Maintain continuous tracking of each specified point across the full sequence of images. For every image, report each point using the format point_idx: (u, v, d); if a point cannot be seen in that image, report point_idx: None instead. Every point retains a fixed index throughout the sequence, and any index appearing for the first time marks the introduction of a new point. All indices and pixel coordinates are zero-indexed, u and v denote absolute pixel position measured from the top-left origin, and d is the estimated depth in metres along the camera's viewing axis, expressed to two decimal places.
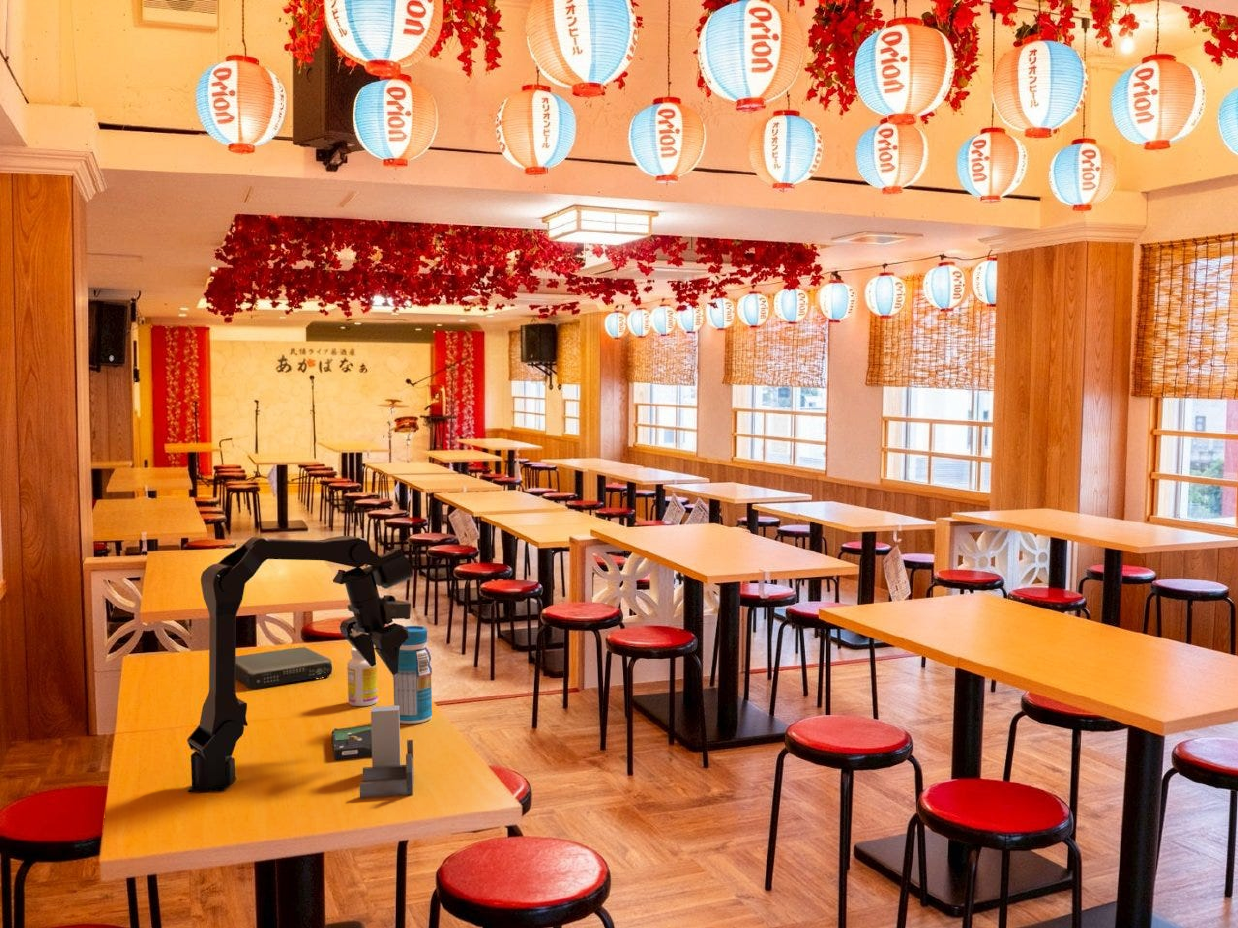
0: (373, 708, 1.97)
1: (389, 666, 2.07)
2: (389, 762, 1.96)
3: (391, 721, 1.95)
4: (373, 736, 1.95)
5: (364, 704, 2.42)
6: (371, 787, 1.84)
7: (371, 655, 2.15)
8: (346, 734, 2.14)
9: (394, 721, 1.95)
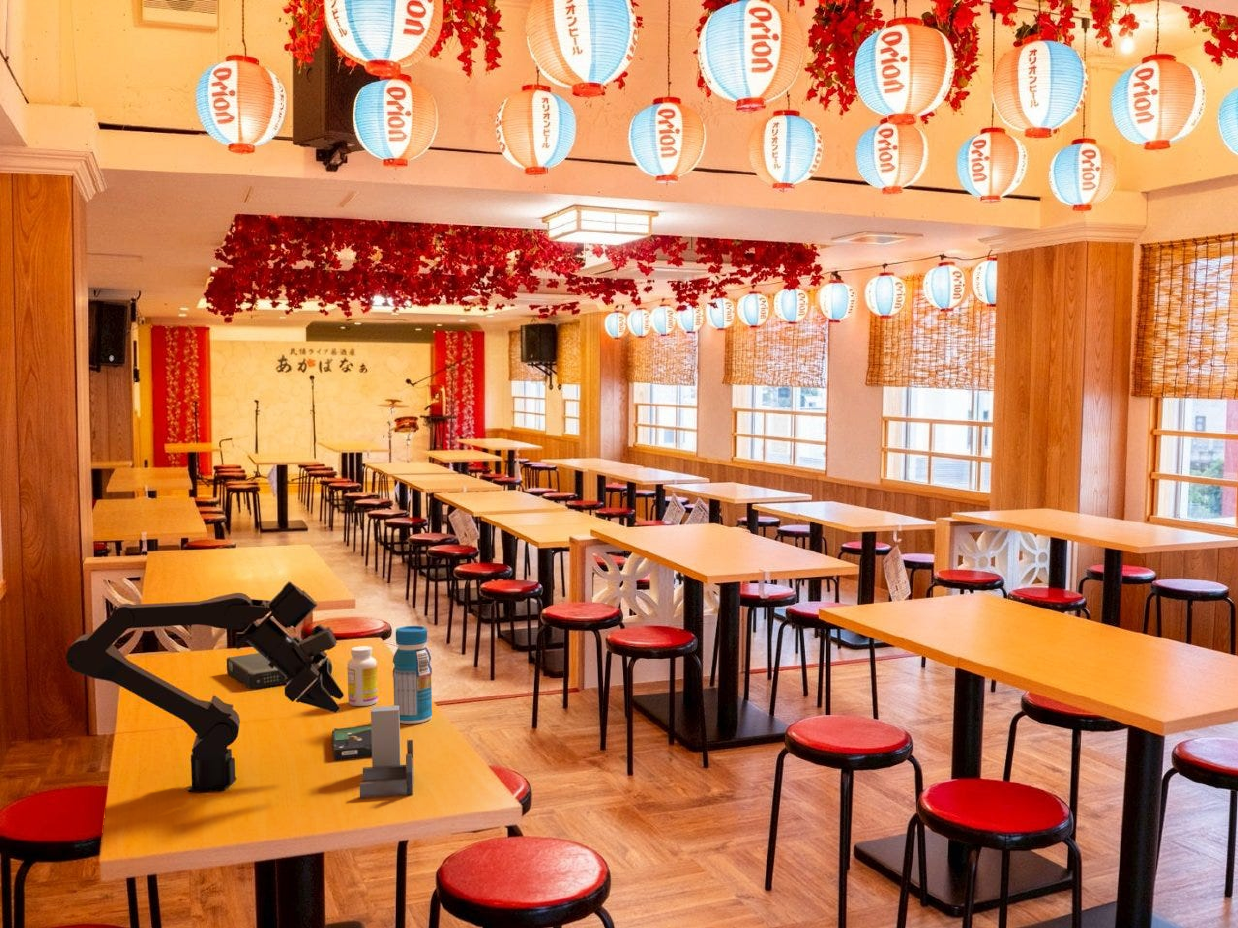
0: (373, 708, 1.97)
1: (324, 707, 1.90)
2: (389, 762, 1.96)
3: (391, 721, 1.95)
4: (373, 736, 1.95)
5: (364, 704, 2.42)
6: (371, 787, 1.84)
7: (333, 688, 1.99)
8: (346, 734, 2.14)
9: (394, 721, 1.95)
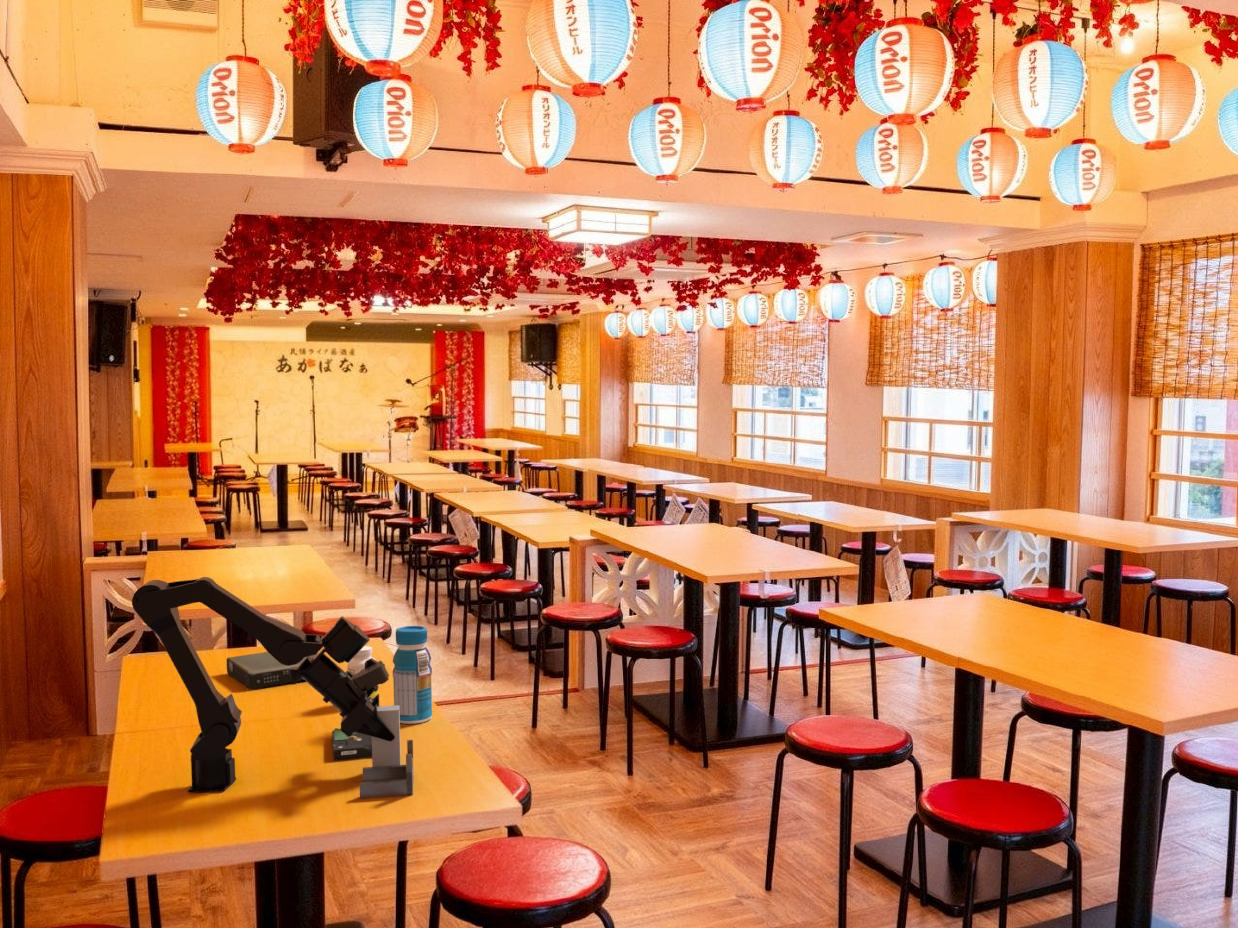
0: None
1: (379, 737, 1.94)
2: (389, 762, 1.96)
3: (391, 721, 1.95)
4: None
5: None
6: (371, 787, 1.84)
7: None
8: None
9: (394, 721, 1.95)
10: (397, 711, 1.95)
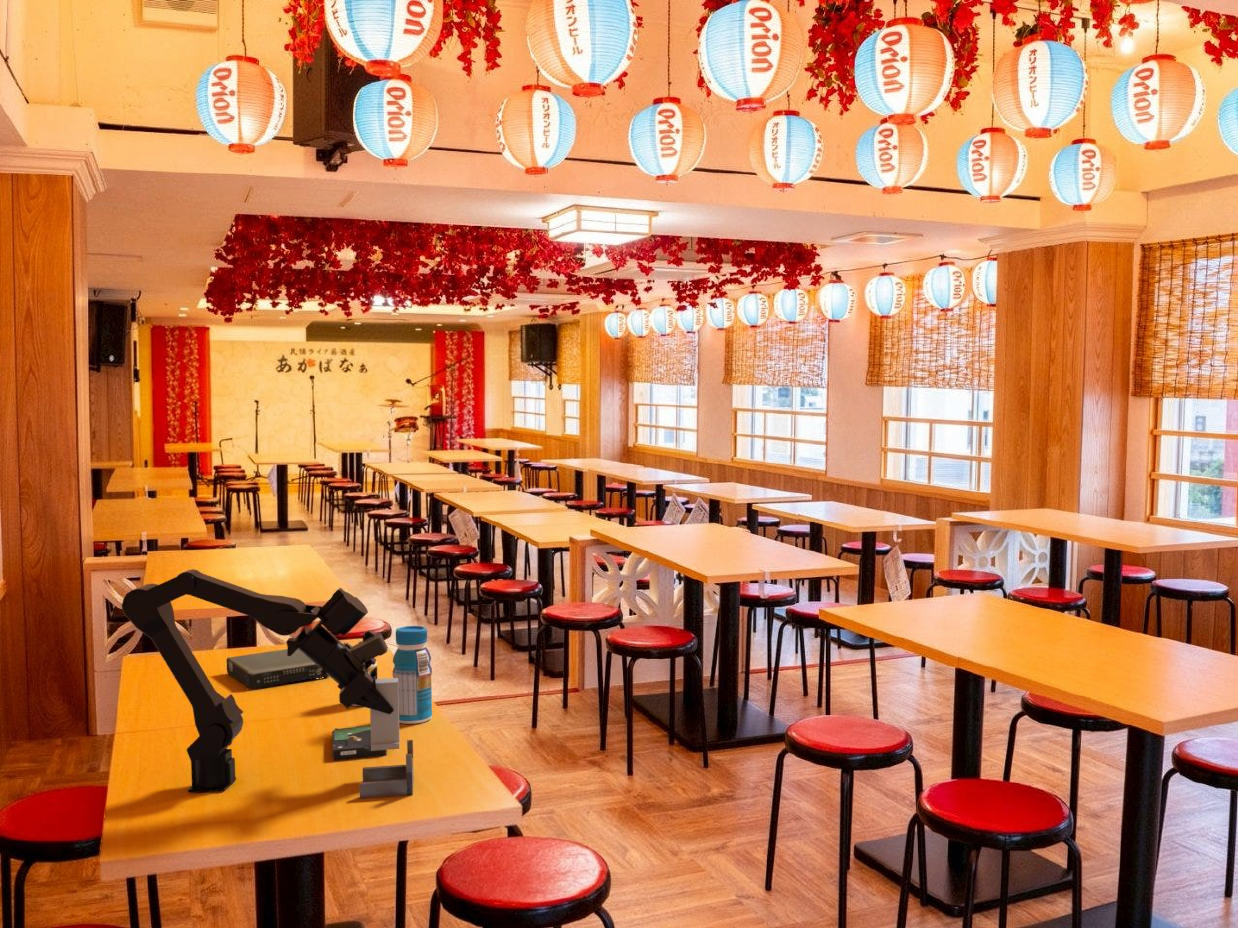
0: None
1: (378, 709, 1.91)
2: (388, 735, 1.92)
3: (390, 693, 1.92)
4: None
5: None
6: (371, 787, 1.84)
7: None
8: (345, 734, 2.14)
9: (393, 693, 1.92)
10: (396, 683, 1.92)
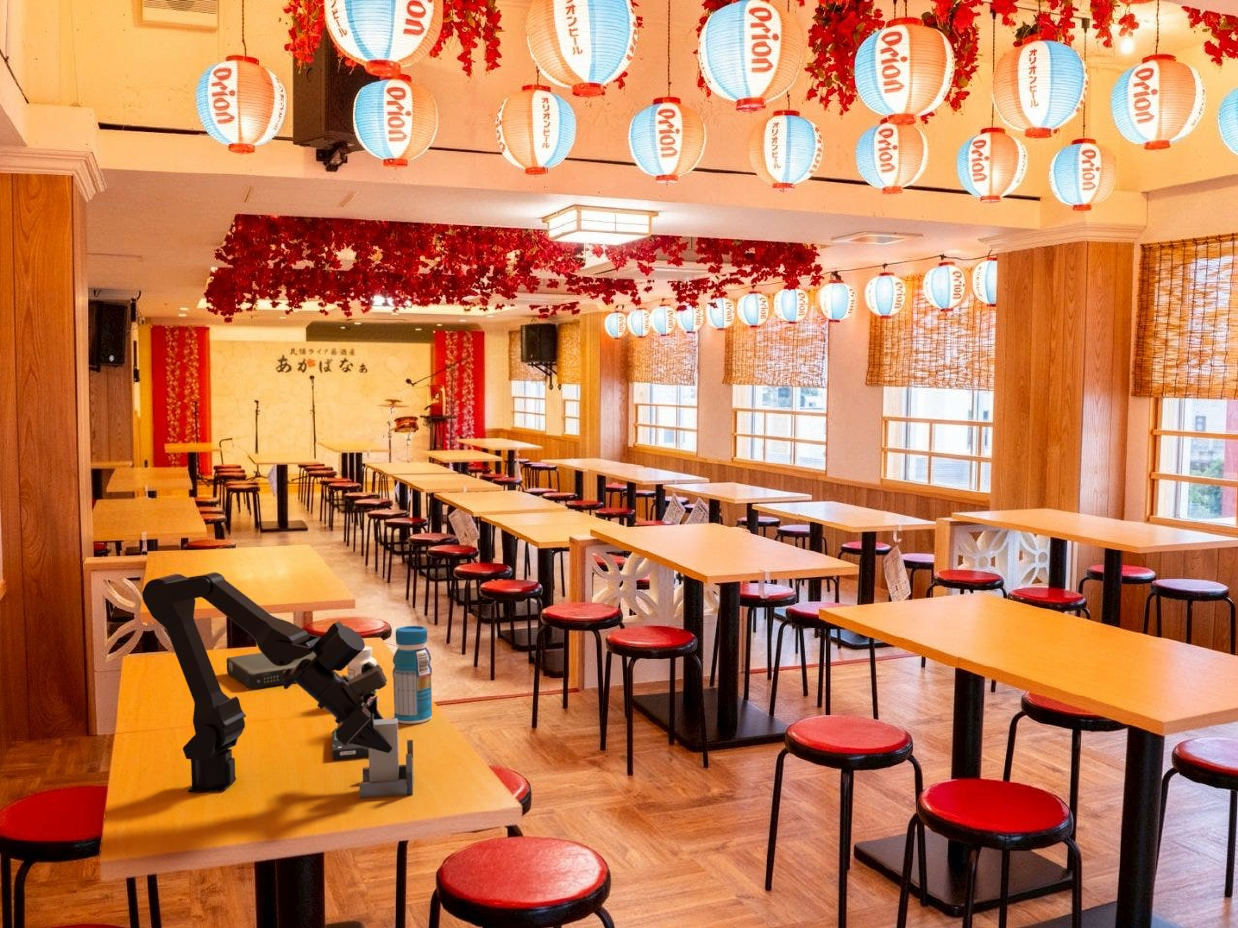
0: None
1: (376, 748, 1.84)
2: (387, 778, 1.87)
3: (389, 735, 1.87)
4: (370, 751, 1.86)
5: None
6: (371, 787, 1.84)
7: None
8: None
9: (392, 735, 1.87)
10: (395, 725, 1.87)
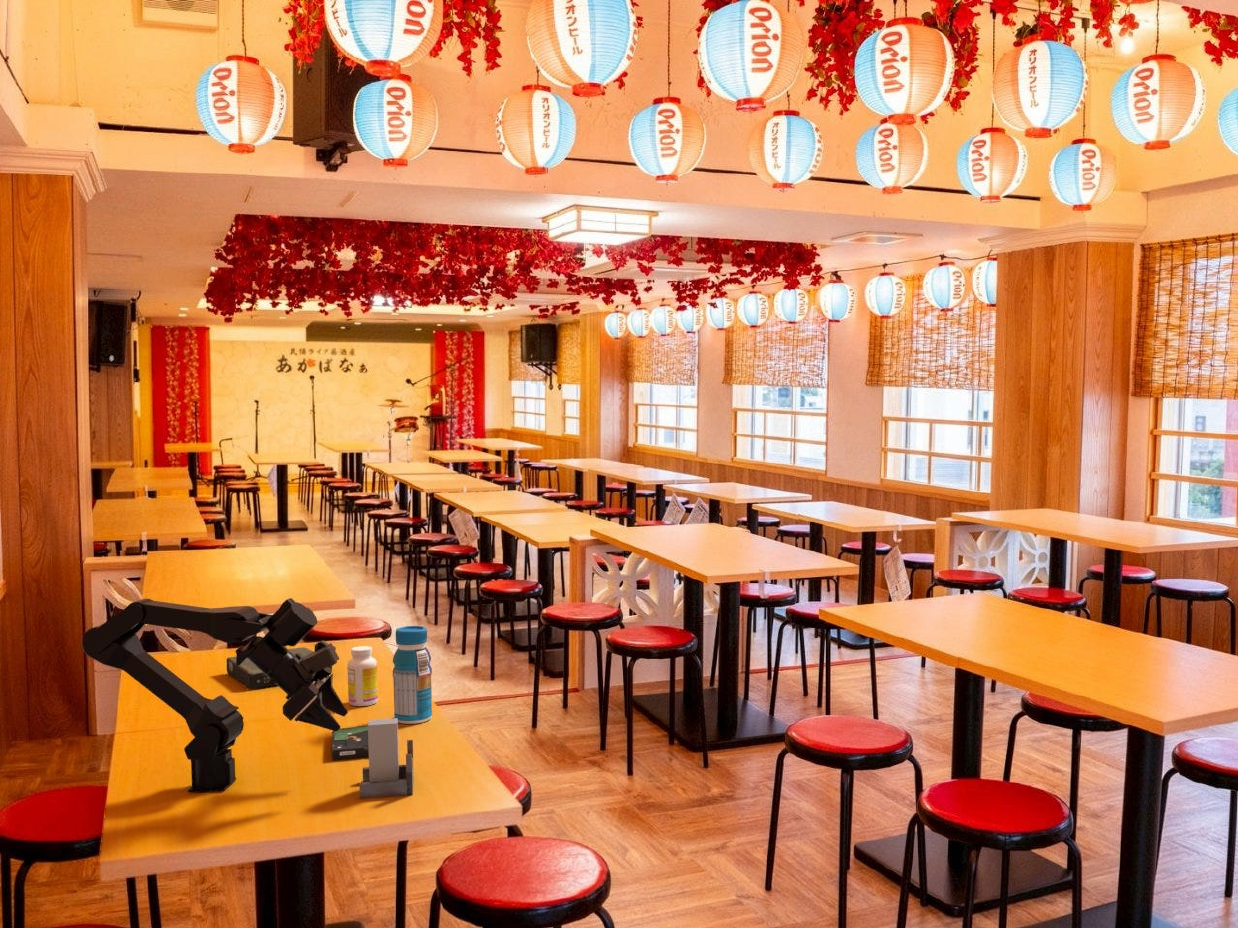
0: (370, 721, 1.88)
1: (324, 726, 1.85)
2: (387, 778, 1.87)
3: (389, 735, 1.87)
4: (370, 751, 1.86)
5: (364, 704, 2.42)
6: (371, 787, 1.84)
7: (337, 706, 1.95)
8: (345, 734, 2.14)
9: (392, 735, 1.87)
10: (395, 725, 1.87)
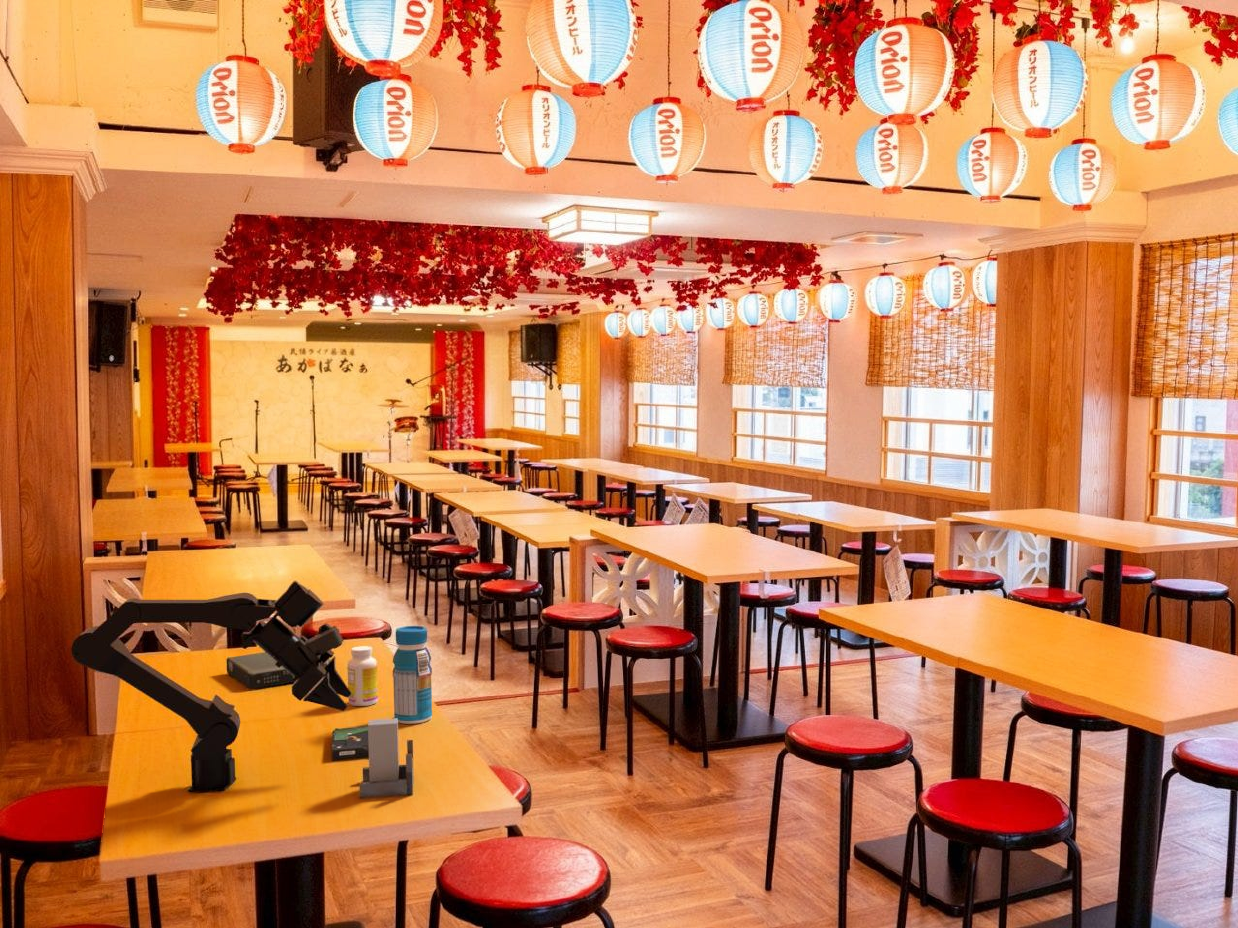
0: (370, 721, 1.88)
1: (331, 706, 1.90)
2: (387, 778, 1.87)
3: (389, 735, 1.87)
4: (370, 751, 1.86)
5: (364, 704, 2.42)
6: (371, 787, 1.84)
7: (341, 687, 1.99)
8: (345, 734, 2.14)
9: (392, 735, 1.87)
10: (395, 725, 1.87)
